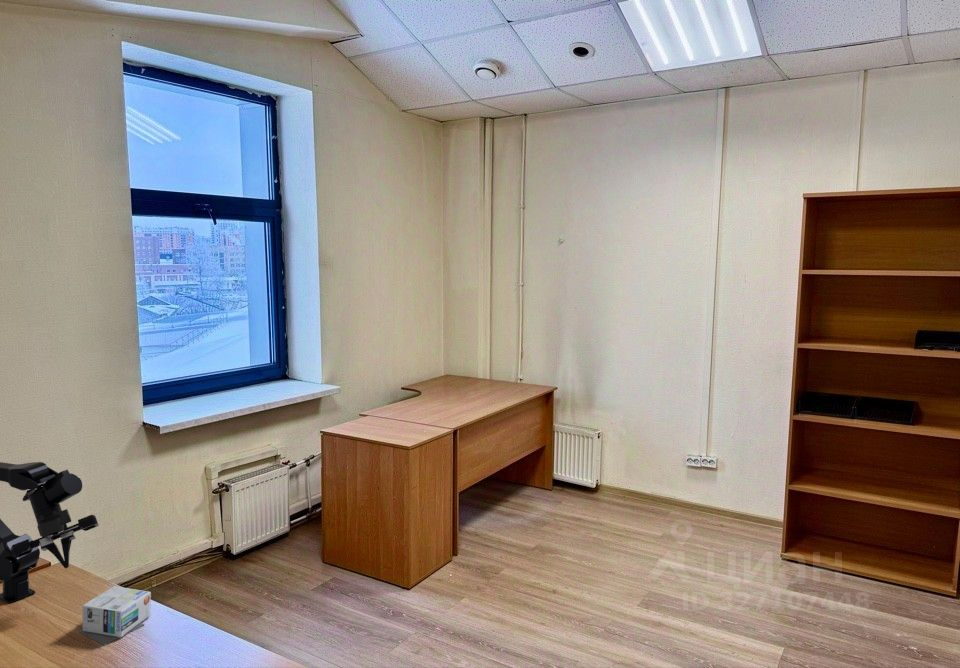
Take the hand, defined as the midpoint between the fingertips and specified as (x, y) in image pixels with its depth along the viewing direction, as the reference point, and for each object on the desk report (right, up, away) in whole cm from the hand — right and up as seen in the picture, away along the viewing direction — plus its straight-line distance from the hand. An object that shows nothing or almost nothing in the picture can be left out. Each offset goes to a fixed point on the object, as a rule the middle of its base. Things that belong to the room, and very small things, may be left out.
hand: (67, 567), depth 168 cm
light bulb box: (+10, -8, -4) cm, 13 cm away
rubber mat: (+15, -13, -6) cm, 20 cm away
